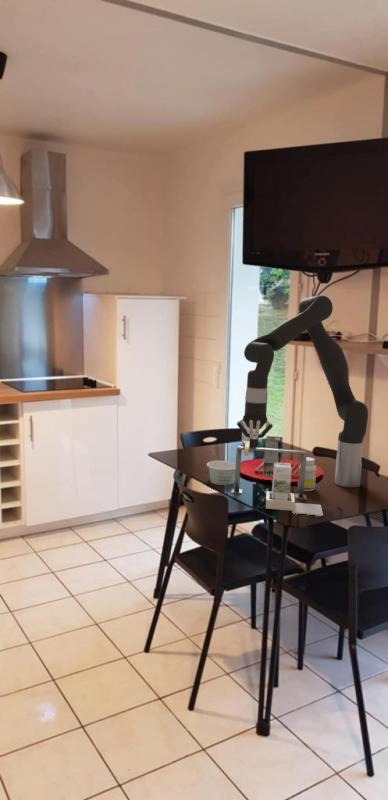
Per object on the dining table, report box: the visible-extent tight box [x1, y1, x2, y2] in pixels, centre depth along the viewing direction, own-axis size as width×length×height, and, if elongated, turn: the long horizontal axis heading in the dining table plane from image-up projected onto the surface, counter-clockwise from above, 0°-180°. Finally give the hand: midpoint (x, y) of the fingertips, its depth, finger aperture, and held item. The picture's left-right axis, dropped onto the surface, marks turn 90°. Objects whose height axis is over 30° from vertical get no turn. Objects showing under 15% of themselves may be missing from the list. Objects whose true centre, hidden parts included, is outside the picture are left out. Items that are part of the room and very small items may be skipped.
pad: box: [291, 502, 324, 517], centre depth 207 cm, size 10×10×1 cm
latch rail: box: [230, 445, 308, 501], centre depth 220 cm, size 27×4×17 cm, turn 83°
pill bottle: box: [297, 456, 317, 492], centre depth 229 cm, size 6×6×12 cm
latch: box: [242, 441, 251, 456], centre depth 213 cm, size 3×15×2 cm, turn 173°
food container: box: [206, 460, 236, 486], centre depth 235 cm, size 12×12×6 cm
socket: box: [265, 490, 296, 512], centre depth 211 cm, size 10×10×3 cm
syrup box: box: [271, 462, 293, 501], centre depth 210 cm, size 6×6×14 cm
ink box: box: [241, 422, 256, 446], centre depth 291 cm, size 9×5×12 cm, turn 17°
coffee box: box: [262, 435, 283, 478], centre depth 240 cm, size 9×6×16 cm
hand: (253, 448), depth 215 cm, fingers closed
